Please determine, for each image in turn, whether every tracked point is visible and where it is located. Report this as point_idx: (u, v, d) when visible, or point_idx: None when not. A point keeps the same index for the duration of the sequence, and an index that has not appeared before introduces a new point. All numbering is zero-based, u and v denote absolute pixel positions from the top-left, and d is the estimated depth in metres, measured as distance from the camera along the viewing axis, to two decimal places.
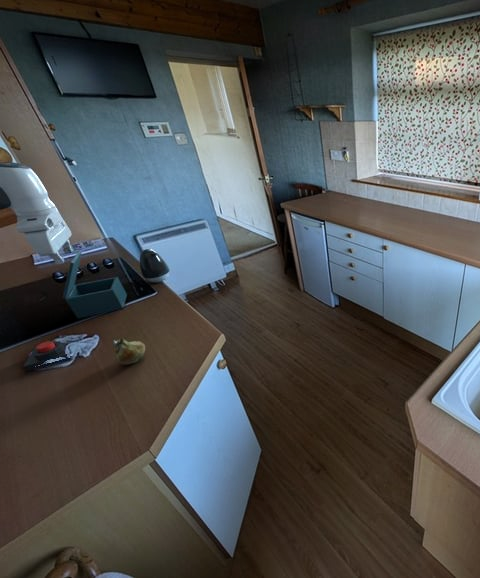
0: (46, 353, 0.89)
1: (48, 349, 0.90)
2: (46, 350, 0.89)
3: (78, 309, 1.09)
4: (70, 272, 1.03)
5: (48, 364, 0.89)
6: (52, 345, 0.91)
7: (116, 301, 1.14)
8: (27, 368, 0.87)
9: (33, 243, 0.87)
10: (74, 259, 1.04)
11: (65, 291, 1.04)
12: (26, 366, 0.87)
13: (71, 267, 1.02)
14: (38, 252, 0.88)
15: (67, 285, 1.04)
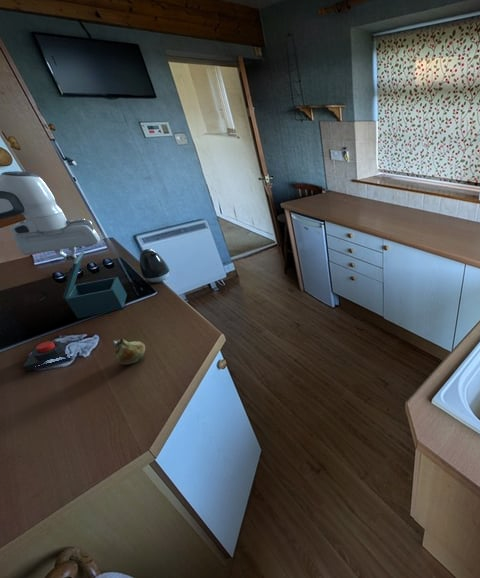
0: (46, 353, 0.89)
1: (48, 349, 0.90)
2: (46, 350, 0.89)
3: (78, 309, 1.09)
4: (72, 272, 1.03)
5: (48, 364, 0.89)
6: (52, 345, 0.91)
7: (116, 301, 1.14)
8: (27, 368, 0.87)
9: None
10: (77, 260, 1.05)
11: (66, 291, 1.04)
12: (26, 366, 0.87)
13: (74, 268, 1.03)
14: None
15: (68, 285, 1.04)
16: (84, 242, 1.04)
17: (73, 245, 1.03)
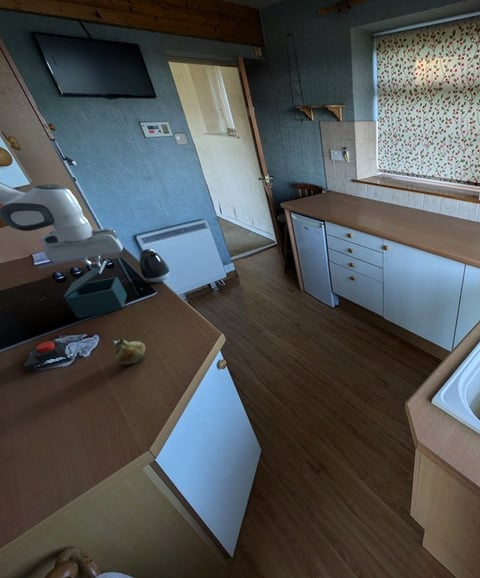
0: (46, 353, 0.89)
1: (48, 349, 0.90)
2: (46, 350, 0.89)
3: (78, 309, 1.09)
4: (90, 279, 1.07)
5: (48, 364, 0.89)
6: (52, 345, 0.91)
7: (116, 301, 1.14)
8: (27, 368, 0.87)
9: None
10: (101, 269, 1.09)
11: (71, 293, 1.05)
12: (26, 366, 0.87)
13: (95, 276, 1.07)
14: None
15: (77, 289, 1.06)
16: (108, 251, 1.09)
17: (98, 254, 1.07)
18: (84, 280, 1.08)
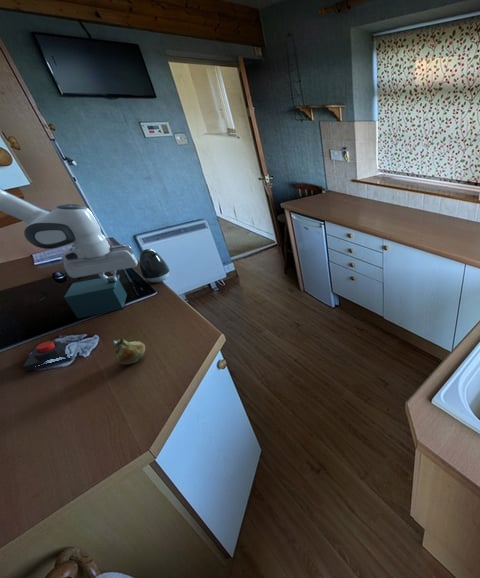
0: (46, 353, 0.89)
1: (48, 349, 0.90)
2: (46, 350, 0.89)
3: (78, 309, 1.09)
4: (102, 290, 1.10)
5: (48, 364, 0.89)
6: (52, 345, 0.91)
7: (116, 301, 1.14)
8: (27, 368, 0.87)
9: None
10: (116, 284, 1.14)
11: (74, 296, 1.06)
12: (26, 366, 0.87)
13: (108, 289, 1.11)
14: None
15: (83, 294, 1.07)
16: (124, 266, 1.13)
17: (114, 269, 1.12)
18: (93, 288, 1.10)
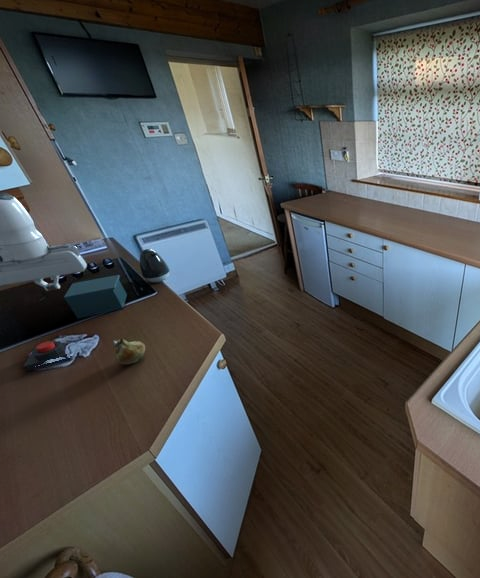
0: (46, 353, 0.89)
1: (48, 349, 0.90)
2: (46, 350, 0.89)
3: (78, 309, 1.09)
4: (102, 291, 1.10)
5: (48, 364, 0.89)
6: (52, 345, 0.91)
7: (116, 301, 1.14)
8: (27, 368, 0.87)
9: None
10: (116, 284, 1.14)
11: (74, 296, 1.06)
12: (26, 366, 0.87)
13: (109, 289, 1.11)
14: None
15: (83, 294, 1.07)
16: (68, 270, 0.92)
17: (55, 274, 0.90)
18: (93, 288, 1.10)
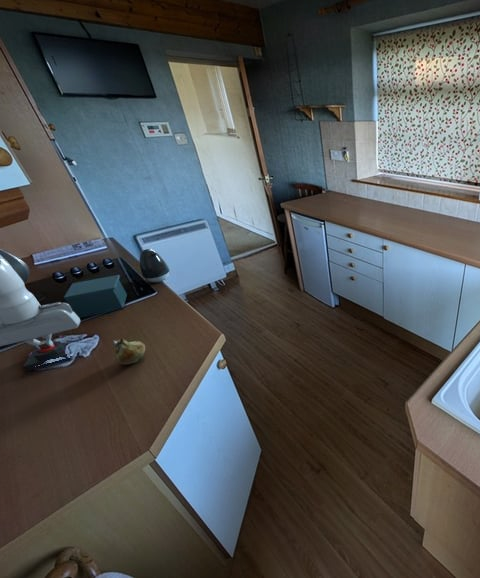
0: (46, 353, 0.89)
1: None
2: None
3: (78, 309, 1.09)
4: (102, 291, 1.10)
5: (48, 364, 0.89)
6: (54, 347, 0.91)
7: (116, 301, 1.14)
8: (27, 368, 0.87)
9: None
10: (116, 284, 1.14)
11: (74, 296, 1.06)
12: (26, 366, 0.87)
13: (109, 289, 1.11)
14: None
15: (83, 294, 1.07)
16: (61, 328, 0.89)
17: (47, 333, 0.88)
18: (93, 288, 1.10)
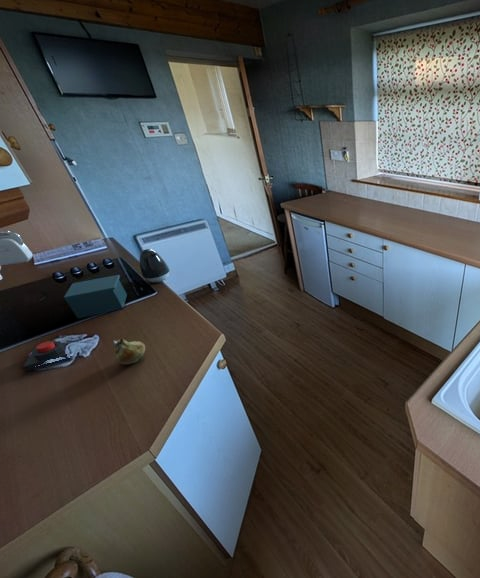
0: (46, 353, 0.89)
1: (48, 349, 0.90)
2: (46, 350, 0.89)
3: (78, 309, 1.09)
4: (102, 291, 1.10)
5: (48, 364, 0.89)
6: (52, 345, 0.91)
7: (116, 301, 1.14)
8: (27, 368, 0.87)
9: None
10: (116, 284, 1.14)
11: (74, 296, 1.06)
12: (26, 366, 0.87)
13: (109, 289, 1.11)
14: None
15: (83, 294, 1.07)
16: (9, 260, 0.84)
17: None
18: (93, 288, 1.10)
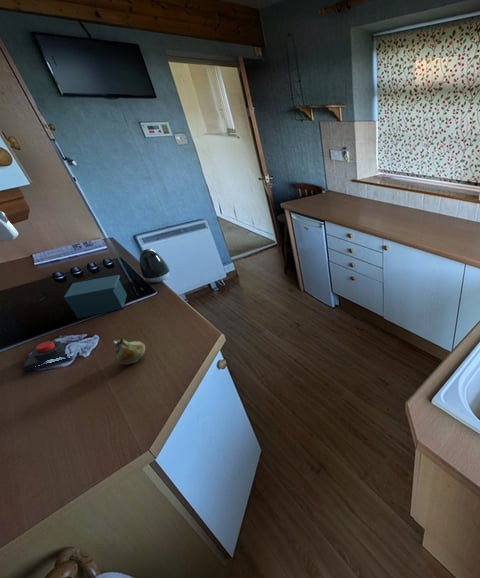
0: (46, 353, 0.89)
1: (48, 349, 0.90)
2: (46, 350, 0.89)
3: (78, 309, 1.09)
4: (102, 291, 1.10)
5: (48, 364, 0.89)
6: (52, 345, 0.91)
7: (116, 301, 1.14)
8: (27, 368, 0.87)
9: None
10: (116, 284, 1.14)
11: (74, 296, 1.06)
12: (26, 366, 0.87)
13: (109, 289, 1.11)
14: None
15: (83, 294, 1.07)
16: None
17: None
18: (93, 288, 1.10)
